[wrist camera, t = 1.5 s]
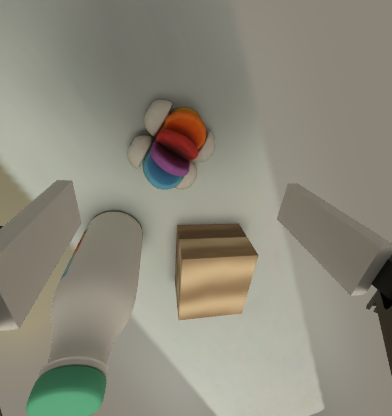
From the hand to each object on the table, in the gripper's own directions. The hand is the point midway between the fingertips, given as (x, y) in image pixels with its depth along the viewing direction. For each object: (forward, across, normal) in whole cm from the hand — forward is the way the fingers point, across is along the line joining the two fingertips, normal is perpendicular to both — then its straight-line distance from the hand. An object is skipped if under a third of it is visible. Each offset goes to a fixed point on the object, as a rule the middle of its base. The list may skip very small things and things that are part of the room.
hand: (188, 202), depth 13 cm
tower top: (+12, +6, -18) cm, 22 cm away
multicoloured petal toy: (+16, 0, 0) cm, 16 cm away
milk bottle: (+16, -8, -13) cm, 22 cm away
